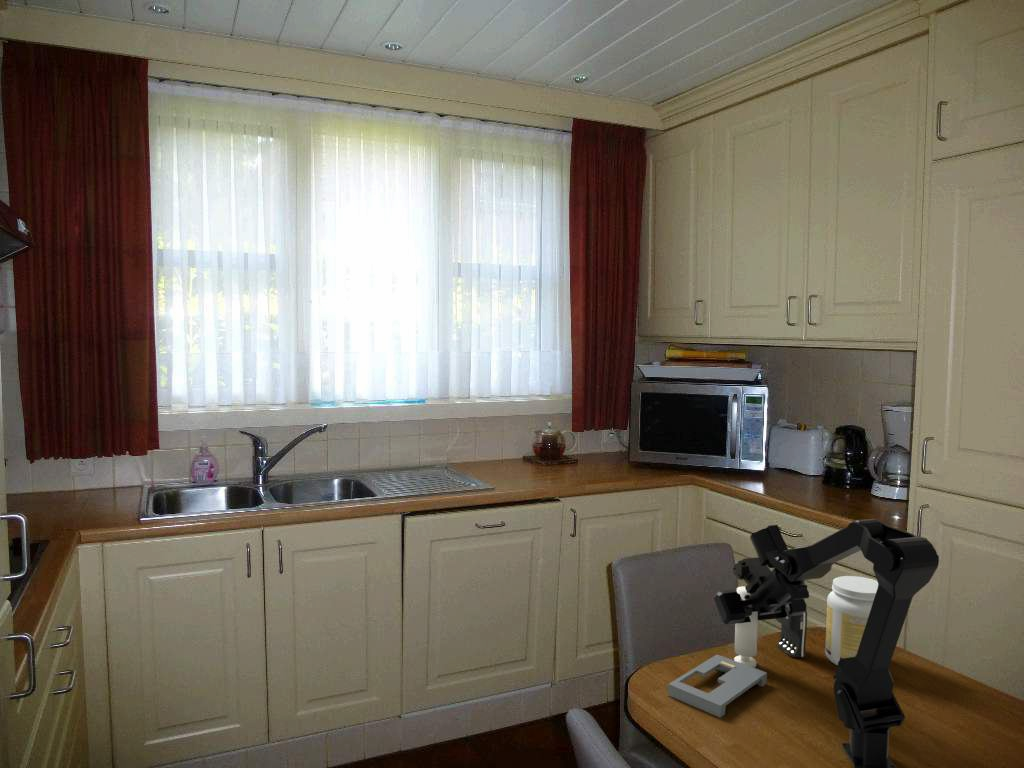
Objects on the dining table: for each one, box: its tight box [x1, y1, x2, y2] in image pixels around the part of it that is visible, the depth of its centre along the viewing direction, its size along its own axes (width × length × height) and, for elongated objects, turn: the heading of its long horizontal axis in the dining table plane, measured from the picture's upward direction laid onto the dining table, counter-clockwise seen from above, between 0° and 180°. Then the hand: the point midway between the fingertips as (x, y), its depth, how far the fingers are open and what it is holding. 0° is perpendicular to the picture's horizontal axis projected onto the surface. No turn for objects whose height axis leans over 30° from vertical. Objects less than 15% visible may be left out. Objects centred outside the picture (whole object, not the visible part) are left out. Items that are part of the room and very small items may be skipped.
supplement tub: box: [824, 575, 878, 666], centre depth 155 cm, size 12×12×17 cm
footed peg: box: [733, 585, 759, 668], centre depth 154 cm, size 4×4×16 cm
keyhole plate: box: [667, 654, 768, 719], centre depth 144 cm, size 18×11×2 cm, turn 135°
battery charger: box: [775, 604, 808, 658], centre depth 160 cm, size 7×4×11 cm, turn 13°
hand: (742, 619), depth 155 cm, fingers closed on footed peg, 4 cm apart
